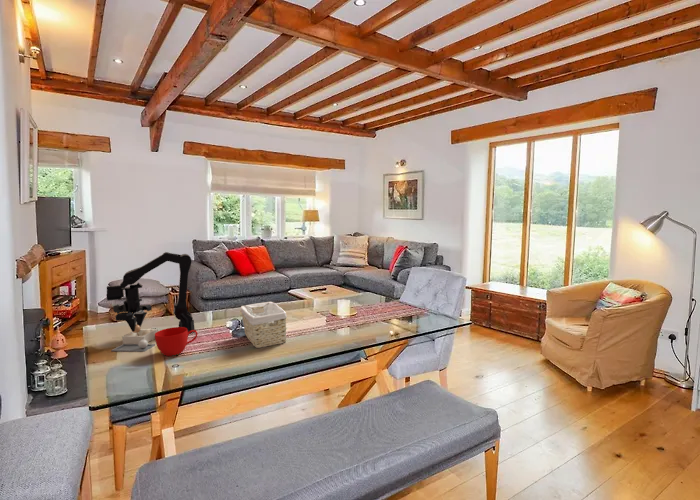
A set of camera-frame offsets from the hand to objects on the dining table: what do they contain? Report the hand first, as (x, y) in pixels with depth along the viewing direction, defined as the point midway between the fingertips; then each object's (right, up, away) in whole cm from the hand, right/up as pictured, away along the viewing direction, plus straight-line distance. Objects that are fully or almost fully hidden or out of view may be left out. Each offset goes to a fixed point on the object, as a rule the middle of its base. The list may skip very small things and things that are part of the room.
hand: (136, 329), depth 197 cm
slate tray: (+5, -7, -11) cm, 14 cm away
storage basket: (+63, -4, -5) cm, 63 cm away
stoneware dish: (+2, -5, 0) cm, 6 cm away
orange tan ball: (0, -2, 0) cm, 2 cm away
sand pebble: (+4, -4, 0) cm, 6 cm away
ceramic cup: (+28, -7, -18) cm, 34 cm away
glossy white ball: (+9, -6, -12) cm, 16 cm away
